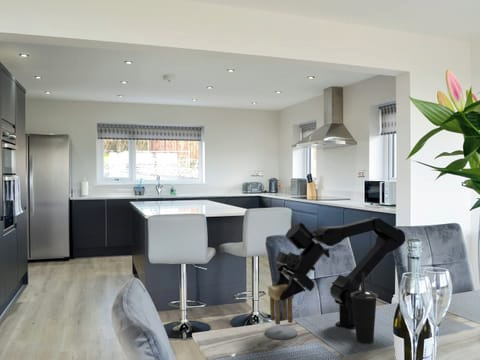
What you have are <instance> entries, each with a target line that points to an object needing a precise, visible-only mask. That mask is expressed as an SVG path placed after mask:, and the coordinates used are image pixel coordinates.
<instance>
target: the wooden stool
mask: <svg viewBox="0 0 480 360" xmlns="http://www.w3.org/2000/svg"><path fill="white" fill-rule="evenodd" d="M286 287H287V285H286V284H282V285H268V286H267V289H268V290H267V291H268V293H267V295H268V296H269V310H270V311H269V313H270V315H269V316H270V320H271V321H275V323H274V324H275V325H277V326H279V325H280V324H281V314H280V313H281V311H280V310H281V309H280V308H281V307H280V301H282V300H280V296H281V295H282V293H283V291H284V290H285V288H286ZM294 296H295V295H293V296H291V297H289V298H287V299H285V300H283V301H282V319H287V323H289V324H292V323H294V322H293V317H294V316H293V299H294V298H295V297H294Z"/></svg>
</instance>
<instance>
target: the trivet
mask: <svg viewBox="0 0 480 360" xmlns="http://www.w3.org/2000/svg"><path fill="white" fill-rule="evenodd" d="M264 334H265V336H266V335H267V337H268V338H270V339H275V340H291V339H293V338H296V337H297V336H298V330H297V329H296V328H294V327H290V326H283V325H277V326H276V325H275V326H271V327H268V328H266V329H265V330H264Z"/></svg>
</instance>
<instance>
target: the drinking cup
mask: <svg viewBox="0 0 480 360" xmlns="http://www.w3.org/2000/svg"><path fill="white" fill-rule="evenodd" d="M361 285H362V289H359V290H357V291H355V292H352V293H351V297H352V305H353V314H354V322H355V328H354V330H355V339H356V342H358V343H360V344H366V345H367V344H373V343H374V337H375V324H376V323H375V321H376V310H377V299H378V294H377V293H375V292H373V291H371V290H367V289H366V279H365V273H362V283H361Z"/></svg>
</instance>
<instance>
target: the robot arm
mask: <svg viewBox="0 0 480 360" xmlns="http://www.w3.org/2000/svg"><path fill="white" fill-rule="evenodd" d="M368 232H373V233H374V234H375V235H376V240H375V244H374V246H373V247H371V249H370V250H369V251H368V252H367V254H365V256H364V257H363V258H362V259H361V260H360V261H359V262H358V263H357V265H355V267H354V268H353V269H352V270H351V271H350V272H349V274H348V275H341V274H339V275H338V276H337V277H336V279H335V280H334V281H333V282H331V284H332V285H331V287H330V288H329V289H330V292H329V293H330V296H331V297H332V299H333V300H334V303H335V304H337V305H338V307H339V308H338V309H339V311H338V312H339V313H338V315H339V319H338V321H337V322H335V326H339V327H342V328H343V327H344V328H346V329H353V330H355V322H354V314H353V305H352V297H351V293H352V292H355V291H357V290H361V289H360V288H361V285H362V273H365V280H366V279H367V278H368V277H369V276H370V274H372V272H373V271H374V270H375V269H376V267H377V266H379V264H380V263H381V262H382V260H383V259H384V258H385V257H386V256H387V255H388V254H391V253H393V252H394V251H396V250H397V249H399V248H401V246H403V245H404V244H405V243H406V233H405V231H404V230H402V229H400V228H396V227H395V226H393V225H391V224H389V223H387V222H386V221H385V220H383V219H381V218H380V217H374V216H370V217H368V218H364V219H362V220H357V221H352V222H350V223H349V222H348V223H345V224H343V225H328V226H327V225H326V226H323V225H322V226H319V227H318V228H317V229H316V230H312V231H310V230H309V229H308V228H307V227H306V226H305V224H304V223H303V222H298V223H297V224H295V225H293V226H292V227H291V228H289V229H288V230H287V232H286V233H285V238H286V239H287V240H288V241H289V242H290V243H291V244H292V245H293V246H295V247H294V248H297V250H302V251H301V252H300V254H296V253H293V252H288V253H285V252H283V251H278V253H277V255H276V257H275V261H276V262H278V263H277V264H276V265H275V267H274V268H275V270H276V273H277V280H276V282H275V285H282V284H286V285H287V287H286V288H285V290H284V291H283V293H282V295H281V296H280V300H279V301H283V300H285V299H287V298H289V297H291V296H296V295H297V294H300V293H302V292H306V291H308V292H312V290H313V289H314V288H315V282H314V281H313V280H312V278H310V277H309V276H308V274H309V273H310V272H311V271H315V269H316V268H315V265H316V264H317V263H318V262H319V261H320V259H321V258H323V257H326V258H327V259H328V258H330V257H331V255H330V249H329V248H325V247H324V246H328V247H333V246H335V245H337V244H338V245H339V243H341V242H342V241H344V240H345V239H347V238H350V237H353V236H358V235H362V234H364V233H368ZM315 241H316V242H315ZM323 245H324V246H323Z"/></svg>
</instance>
